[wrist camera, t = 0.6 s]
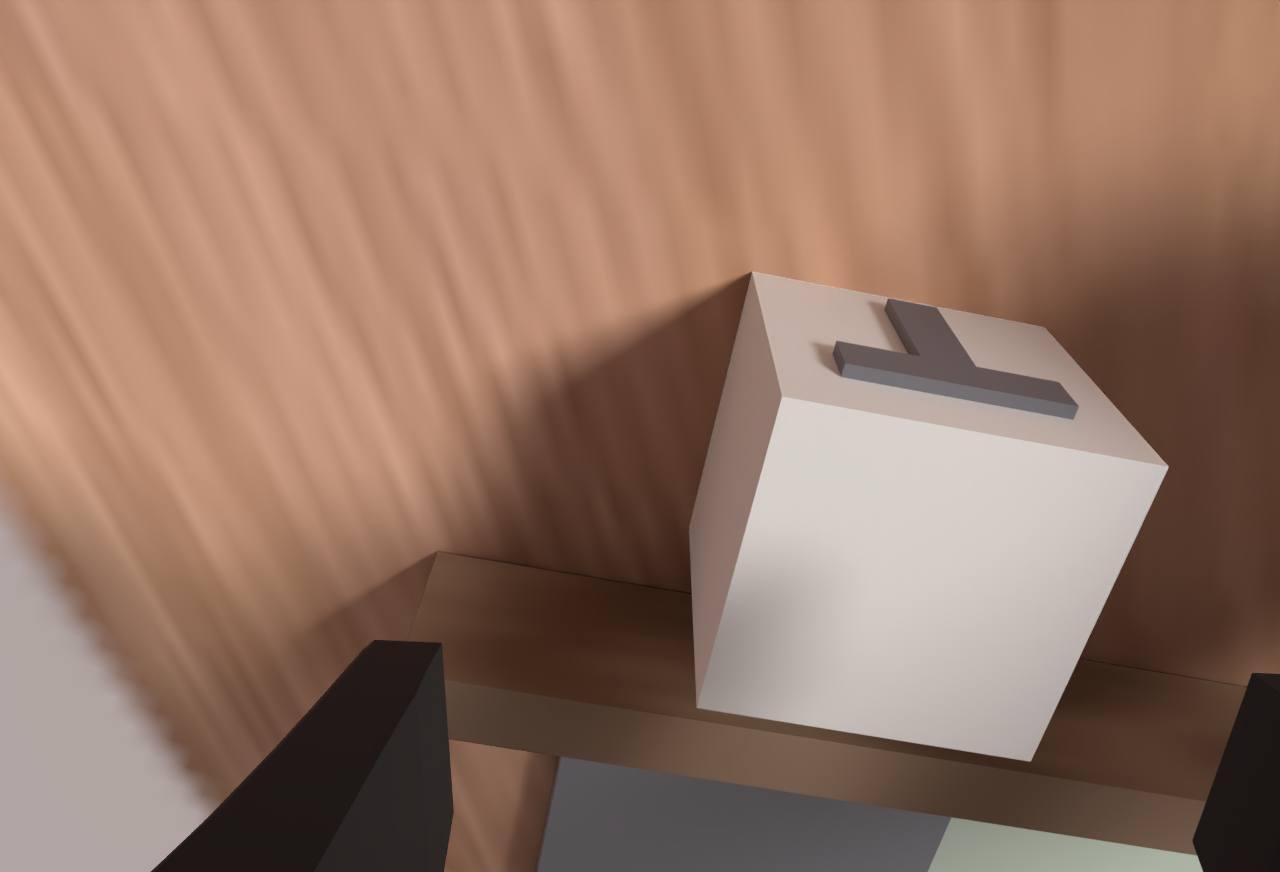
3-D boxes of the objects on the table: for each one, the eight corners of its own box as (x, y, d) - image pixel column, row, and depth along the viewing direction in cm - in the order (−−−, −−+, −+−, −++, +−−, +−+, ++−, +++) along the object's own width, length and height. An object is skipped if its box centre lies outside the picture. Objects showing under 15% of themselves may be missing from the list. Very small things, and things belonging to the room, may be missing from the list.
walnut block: (1434, 718, 21) (1567, 859, 18) (1405, 763, 22) (1528, 907, 19) (437, 551, 20) (396, 672, 17) (430, 603, 21) (390, 729, 17)
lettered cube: (1047, 314, 18) (1175, 452, 13) (948, 569, 20) (1030, 761, 16) (754, 258, 18) (786, 381, 13) (689, 525, 20) (697, 708, 15)
